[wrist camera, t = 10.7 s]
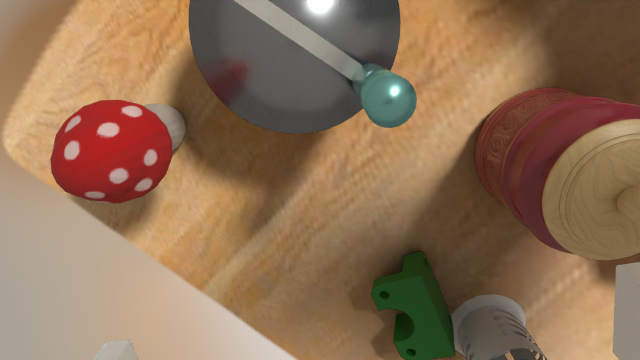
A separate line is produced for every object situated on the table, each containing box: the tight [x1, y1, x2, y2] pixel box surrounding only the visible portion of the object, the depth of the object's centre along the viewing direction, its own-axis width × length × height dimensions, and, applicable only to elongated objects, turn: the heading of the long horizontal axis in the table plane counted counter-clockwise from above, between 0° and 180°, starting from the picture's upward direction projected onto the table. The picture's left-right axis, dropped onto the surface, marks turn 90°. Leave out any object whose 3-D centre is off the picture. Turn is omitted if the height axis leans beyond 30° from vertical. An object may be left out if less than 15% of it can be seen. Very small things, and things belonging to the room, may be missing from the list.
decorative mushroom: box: [51, 100, 186, 204], centre depth 38 cm, size 10×9×15 cm
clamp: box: [371, 251, 455, 360], centre depth 49 cm, size 12×6×9 cm, turn 18°
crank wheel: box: [189, 0, 417, 134], centre depth 30 cm, size 16×16×18 cm
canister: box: [475, 88, 640, 260], centre depth 37 cm, size 13×13×18 cm
